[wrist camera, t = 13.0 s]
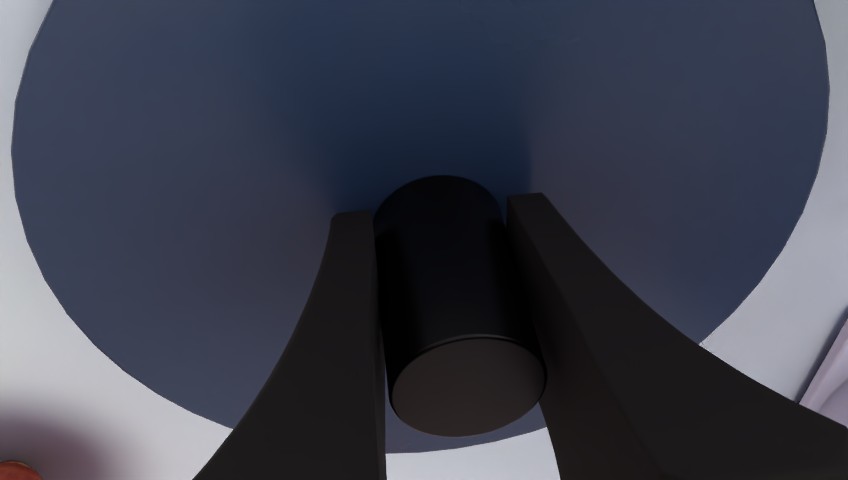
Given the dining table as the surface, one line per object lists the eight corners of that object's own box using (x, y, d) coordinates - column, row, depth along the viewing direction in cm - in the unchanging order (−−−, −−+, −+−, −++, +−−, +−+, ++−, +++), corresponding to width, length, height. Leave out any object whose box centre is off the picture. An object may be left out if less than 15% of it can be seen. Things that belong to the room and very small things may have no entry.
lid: (687, 398, 21) (767, 579, 18) (118, 435, 20) (77, 643, 16) (944, -216, 12) (1229, -101, 8) (-110, -248, 10) (-338, -120, 7)
